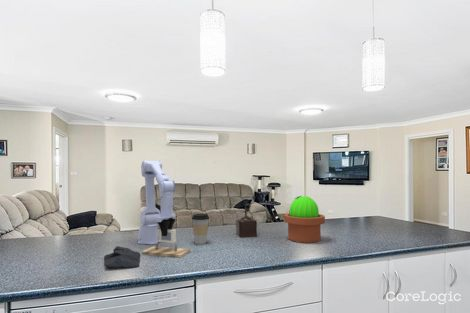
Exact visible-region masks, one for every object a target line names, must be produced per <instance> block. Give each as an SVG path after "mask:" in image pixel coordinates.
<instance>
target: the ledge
mask: <svg viewBox="0 0 470 313" xmlns="http://www.w3.org/2000/svg"><path fill="white" fill-rule="evenodd" d="M189 253H191V249H190V248H181V247H179V248H178V244H177V243H176V244H174V247H168V246H159V242H158V243H155V245H153V246H151V247H148V248H146V249H144V250H142V251H141V255H149V256H158V257H168V258H182V257H184V256H186V255H188V254H189Z"/></svg>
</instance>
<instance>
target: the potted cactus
mask: <svg viewBox="0 0 470 313" xmlns="http://www.w3.org/2000/svg"><path fill="white" fill-rule="evenodd" d="M289 206H290V207H289V212H288V213H285V214H283V222H284V223H287V237H288V240H290V241H292V242H295V241H296V242H297V243H301V242H303V244H313V243H312V242H314V243H318V242H320V241H321V238H322V236H321V235H322V234H321V233H322V232H321V231H322V230H321V225H323V224H325V223H326V217H325V215H324V214H320V213H319V212H320V211H319V210H320V209H319V207H318V204H317V202H316V201H315V200H314V199H312V197H310V196H308V195H307V196H306V195H304V196H303V195H298V196H297V197H295V198H294V199H293V200H292V202H291V203H290V205H289Z"/></svg>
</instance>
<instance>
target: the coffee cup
mask: <svg viewBox="0 0 470 313" xmlns="http://www.w3.org/2000/svg"><path fill="white" fill-rule="evenodd" d="M191 219H192V230H193V236H194V237H193V238H194V243H195V244H196V245H204V244H206V243H207V236H208V232H209V231H208V230H209V219H210V216H209V214H208V213H195V214H193V215H192V217H191Z"/></svg>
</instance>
